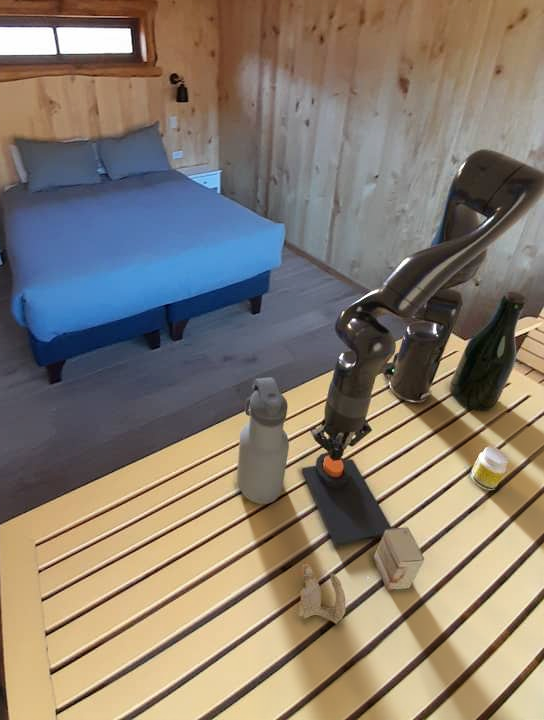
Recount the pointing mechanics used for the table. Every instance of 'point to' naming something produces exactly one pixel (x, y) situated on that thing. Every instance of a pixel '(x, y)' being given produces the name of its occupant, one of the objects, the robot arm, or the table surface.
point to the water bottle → (263, 444)
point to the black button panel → (345, 504)
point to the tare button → (333, 467)
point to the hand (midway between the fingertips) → (333, 456)
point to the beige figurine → (313, 598)
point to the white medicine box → (398, 558)
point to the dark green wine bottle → (488, 358)
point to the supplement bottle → (489, 468)
